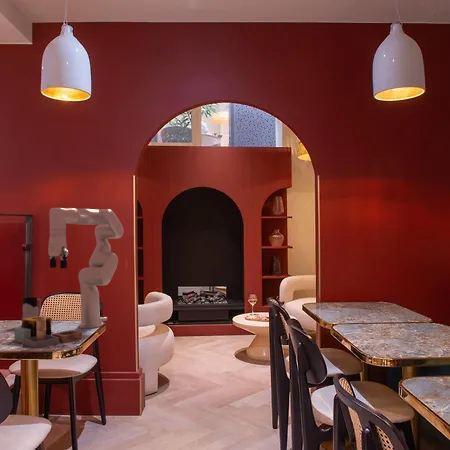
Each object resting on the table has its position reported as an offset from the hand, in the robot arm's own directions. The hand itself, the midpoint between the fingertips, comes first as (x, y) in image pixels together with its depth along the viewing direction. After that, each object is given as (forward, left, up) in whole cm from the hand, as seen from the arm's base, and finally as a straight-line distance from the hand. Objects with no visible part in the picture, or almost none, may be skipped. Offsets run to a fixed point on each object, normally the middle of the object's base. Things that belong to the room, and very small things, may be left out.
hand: (58, 268), depth 241 cm
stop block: (+17, -3, -33) cm, 38 cm away
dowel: (+15, +10, -33) cm, 37 cm away
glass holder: (-7, -41, -34) cm, 53 cm away
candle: (+10, -3, -34) cm, 35 cm away
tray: (+15, +10, -33) cm, 38 cm away
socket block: (+2, +11, -33) cm, 35 cm away
